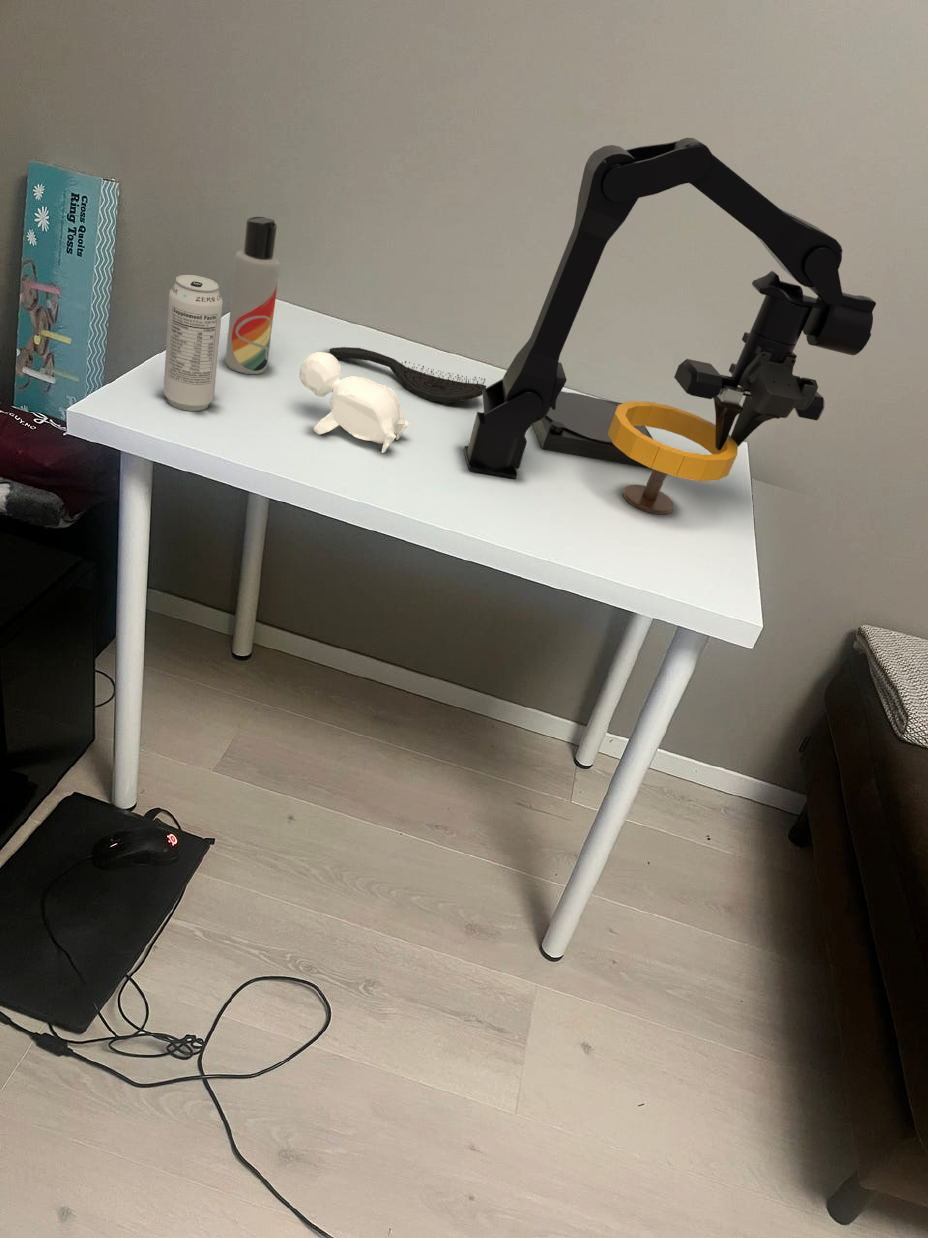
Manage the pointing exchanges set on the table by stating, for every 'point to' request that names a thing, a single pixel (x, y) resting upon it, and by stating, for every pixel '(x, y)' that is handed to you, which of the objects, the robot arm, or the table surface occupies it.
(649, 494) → the peg
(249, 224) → the lotion bottle
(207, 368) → the energy drink can
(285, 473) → the table surface
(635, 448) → the ring
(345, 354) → the hairbrush
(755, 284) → the robot arm
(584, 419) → the hot plate
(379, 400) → the white turtle figurine
